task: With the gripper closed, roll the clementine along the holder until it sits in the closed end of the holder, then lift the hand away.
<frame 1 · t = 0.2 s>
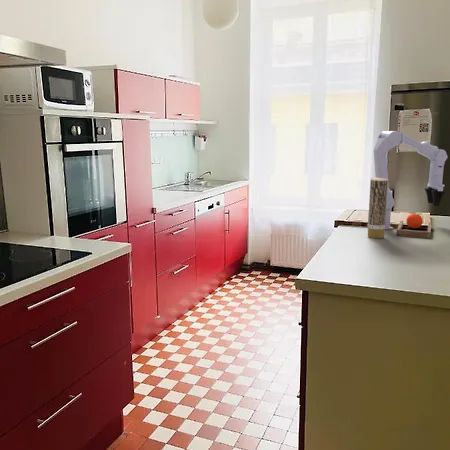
hand: (433, 204, 221), 10 cm above the countertop, tool pointing down, fingers open, 7 cm apart
paper tube: (375, 237, 202), on the countertop
holder: (413, 233, 208), on the countertop
clementine: (415, 228, 217), on the countertop
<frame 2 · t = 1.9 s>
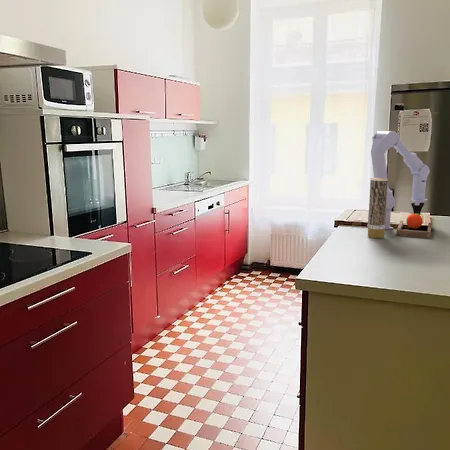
hand: (416, 217, 225), 3 cm above the countertop, tool pointing down, fingers closed
nothing on the countertop moved.
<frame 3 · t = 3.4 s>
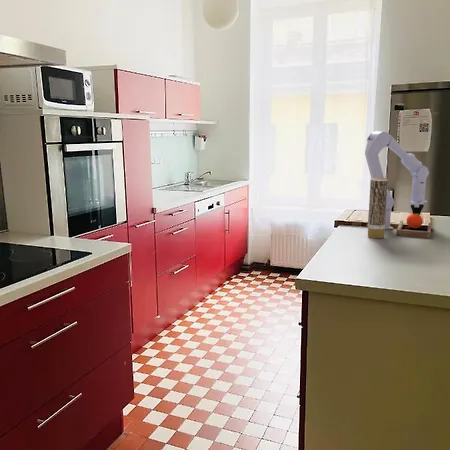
hand: (416, 220, 221), 3 cm above the countertop, tool pointing down, fingers closed
clementine: (415, 228, 217), on the countertop, touching gripper
everything else where it was.
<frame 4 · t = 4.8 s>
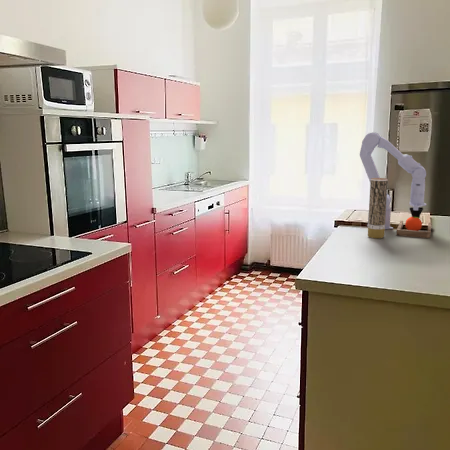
hand: (415, 223, 213), 3 cm above the countertop, tool pointing down, fingers closed
clementine: (414, 232, 210), on the countertop, touching gripper
everything else where it was.
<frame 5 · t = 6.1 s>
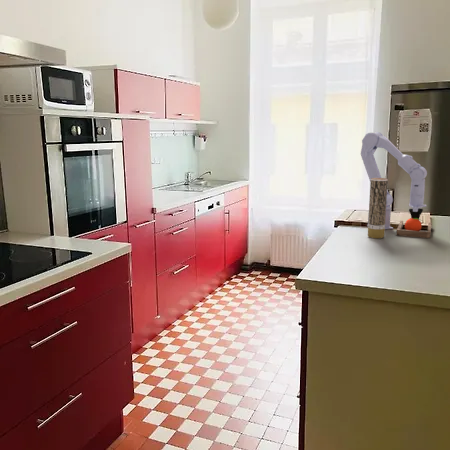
hand: (414, 224, 211), 3 cm above the countertop, tool pointing down, fingers closed
clementine: (413, 234, 207), on the countertop, touching gripper
everything else where it was.
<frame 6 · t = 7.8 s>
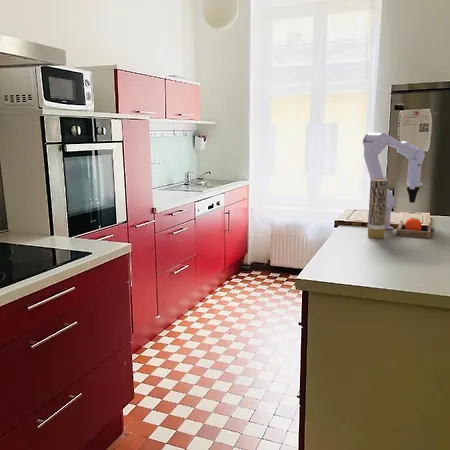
hand: (412, 202, 225), 10 cm above the countertop, tool pointing down, fingers closed
clementine: (413, 234, 207), on the countertop
everything else where it was.
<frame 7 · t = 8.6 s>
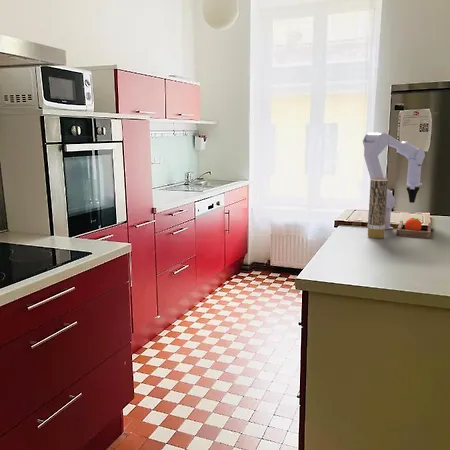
hand: (412, 202, 225), 10 cm above the countertop, tool pointing down, fingers closed
nothing on the countertop moved.
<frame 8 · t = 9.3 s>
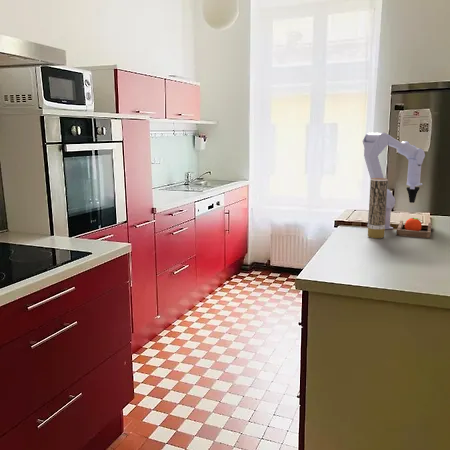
hand: (412, 202, 225), 10 cm above the countertop, tool pointing down, fingers closed
nothing on the countertop moved.
at the end: clementine 0.2 cm from the holder (horizontally); clementine on the countertop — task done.
